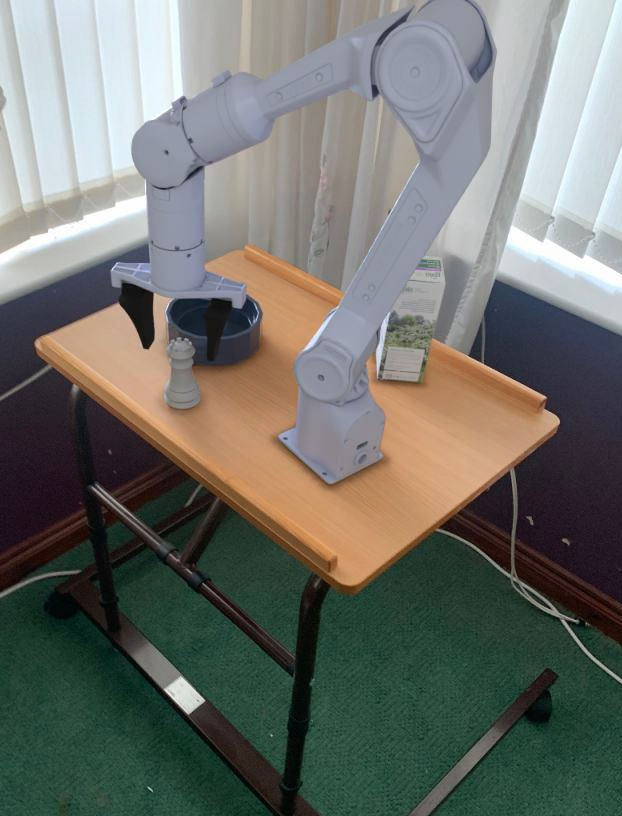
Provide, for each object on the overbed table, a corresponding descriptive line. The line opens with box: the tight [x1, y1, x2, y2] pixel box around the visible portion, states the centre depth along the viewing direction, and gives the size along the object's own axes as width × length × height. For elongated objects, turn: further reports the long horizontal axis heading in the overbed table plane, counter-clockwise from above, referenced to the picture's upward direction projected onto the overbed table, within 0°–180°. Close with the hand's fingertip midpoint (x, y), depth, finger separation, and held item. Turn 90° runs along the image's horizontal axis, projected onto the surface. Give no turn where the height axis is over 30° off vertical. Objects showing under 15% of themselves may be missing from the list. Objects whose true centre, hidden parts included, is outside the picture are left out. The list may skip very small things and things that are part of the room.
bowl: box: [164, 293, 264, 367], centre depth 102 cm, size 12×12×4 cm
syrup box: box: [375, 255, 447, 384], centre depth 95 cm, size 6×6×14 cm
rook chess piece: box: [163, 337, 202, 411], centre depth 92 cm, size 4×4×8 cm
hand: (180, 350), depth 90 cm, fingers open, 7 cm apart
